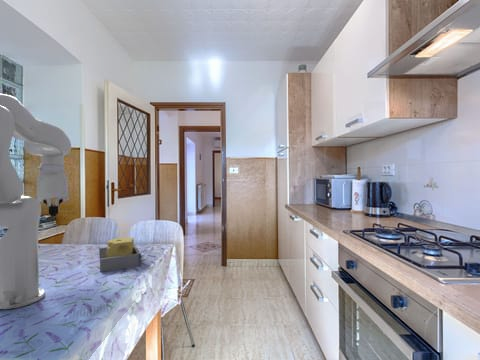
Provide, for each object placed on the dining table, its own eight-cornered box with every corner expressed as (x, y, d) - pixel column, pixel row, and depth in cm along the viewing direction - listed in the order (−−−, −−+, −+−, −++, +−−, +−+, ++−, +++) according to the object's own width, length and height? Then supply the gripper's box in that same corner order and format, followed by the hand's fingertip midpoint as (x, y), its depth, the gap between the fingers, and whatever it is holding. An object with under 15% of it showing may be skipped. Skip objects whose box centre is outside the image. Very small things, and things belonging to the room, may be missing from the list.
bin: (141, 265, 114) (140, 253, 114) (100, 272, 107) (100, 259, 107) (134, 254, 132) (134, 243, 132) (99, 258, 125) (99, 247, 125)
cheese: (105, 267, 112) (105, 243, 112) (110, 260, 123) (110, 238, 122) (132, 265, 115) (132, 241, 115) (135, 258, 125) (134, 236, 125)
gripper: (27, 169, 101) (28, 218, 101) (74, 169, 108) (75, 215, 108) (31, 170, 108) (32, 216, 108) (75, 170, 115) (76, 213, 115)
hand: (53, 215), depth 108 cm, fingers closed
